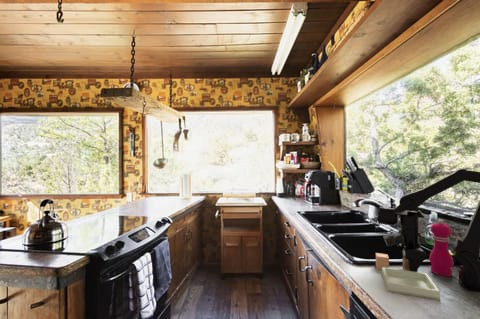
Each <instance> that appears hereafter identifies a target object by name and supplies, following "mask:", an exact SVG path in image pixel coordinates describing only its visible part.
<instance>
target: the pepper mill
mask: <svg viewBox="0 0 480 319" xmlns="http://www.w3.org/2000/svg"><path fill="white" fill-rule="evenodd" d="M430 232H431V233H432V234H433V235H432V240H433V248H432V250H431V252H430V253H429V257H428V260H429V262H430V264H431V265H430V271H431V272H432V273H434V274H435V275H440V276H445V277H446V276H447V277H451V276H453V269H452V267H453V266H454V264H455V263H454V257H452V254H451V253H450V251H449V242H450V237H449V236H450V235H451V234H452V230H451V227H450V226H449V225H447V224H446V223H444V219H442V218H441V219H440V218H439V219H437V222H435V223H433V224H431V226H430Z"/></svg>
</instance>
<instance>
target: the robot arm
mask: <svg viewBox="0 0 480 319" xmlns="http://www.w3.org/2000/svg"><path fill="white" fill-rule="evenodd" d="M465 181H466V182H470V183H477V184H480V171H477V170H467V169H466V168H459V169H456V170H455V171H454V172H452V173H450V174H448V175H446V176H444V177H442V178H440V179H439V180H437V181H434V182H433V183H431V184H430V185H427V186H426V187H424V188H422V189H419V190H415V191H412V192H409V193H406V194H404V195H403V196H401V198H399V205H396V206H395V207H394V208H392V207H391V208H390V207H385V206H379V207H378V213H377V224H379V225H386V226H393V227H395V226H396V225H398V224H399V222H400V225H399V227H400V228H399V229H398V231H397V232H393V233H388V234H385V235H382V236H383V237H382V238H383V240H384V242H385V244H386V247H388V248H390V247H392V246H397V247H398V248H399V249H400V251H401V253H402V257H405V258H406V259H407V260H408V263H409V268H410V271H414V272H416V271H417V270H418V271H419V268H420V266H421V265H422V264H423V262H424V261H426V260H428V259H427V258H428V257H427V253H426V252H425V251H424V250H423V249H422V248H421V244H420V237H421V232H420V230H419V229H420V228H419V227H420V224H419V220H420V219H424V218H425V217H426V214H424V213H423V212H422V211H421V210H420V209H418V210H417V211H415V210H416V209H417V208H419V207H420V206H421V205H423V204H424V203H425V202H427V201H428V199H430V198H433V197H434V196H437V195H439V194H441V193H443V192H444V191H447V190H449V189H451V188H452V187H454V186H457V185H458V184H460V183H462V182H465ZM406 211H407V212H406ZM455 240H456V241H455V242H454V243H453V244H452V250H453V252H454V257H455V259H456V260H457V261H458V262H459V263H460V264H462V265H460V266H459V267H460V268H459V270H458V283H459V284H460V285H461V286H463V288H465V290H467V291H474V292H480V200H479V201H478V203H477V206H476V209H475V211H474V213H473V216H472V219H470V223H469V225H468V227H467V229H466V232H465V234H464V235H463V236H462V237H461V236H458V235H457V236H456V239H455Z"/></svg>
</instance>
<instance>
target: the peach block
mask: <svg viewBox="0 0 480 319" xmlns="http://www.w3.org/2000/svg"><path fill="white" fill-rule="evenodd" d="M389 260H390V257H389V255H388V254H386V253H379V252H375V268H376V270H380V271H382V267H385V268H390V261H389Z"/></svg>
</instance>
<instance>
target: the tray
mask: <svg viewBox="0 0 480 319" xmlns="http://www.w3.org/2000/svg"><path fill="white" fill-rule="evenodd" d="M381 275H382V278H383V281H384V284H385V287H386V290H387V292H391V293H396V294H401V295H402V294H403V295H407V296H412V295H413V297H419V298H424V299H431V300H437V301H441V291H440V289H439V288H438V287H437V286H436V284H435V283H434V281H433V280H432V279H431V277H430V276H429V275H428V274H427V273H426V272H422V271H421V272H420V271H418V272H414V271H407V270H403V269H400V268H392V267H389V268H385V267H382V270H381Z"/></svg>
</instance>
